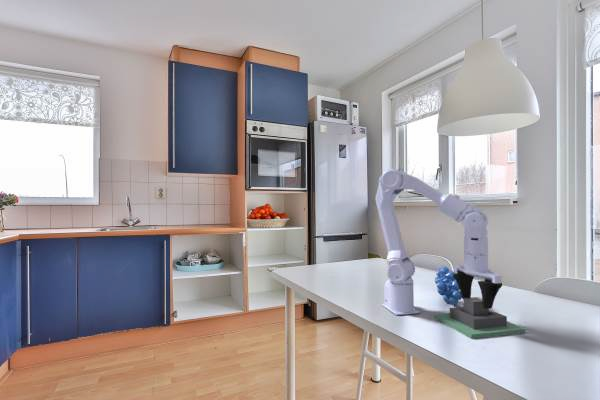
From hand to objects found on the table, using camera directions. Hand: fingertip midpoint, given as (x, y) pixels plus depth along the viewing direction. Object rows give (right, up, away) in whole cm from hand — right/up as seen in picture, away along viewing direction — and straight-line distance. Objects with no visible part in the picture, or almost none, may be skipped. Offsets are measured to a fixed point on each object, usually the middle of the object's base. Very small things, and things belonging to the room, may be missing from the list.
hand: (476, 303), depth 83 cm
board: (0, -6, 0) cm, 6 cm away
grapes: (0, -7, +18) cm, 19 cm away
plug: (0, -6, 0) cm, 6 cm away
